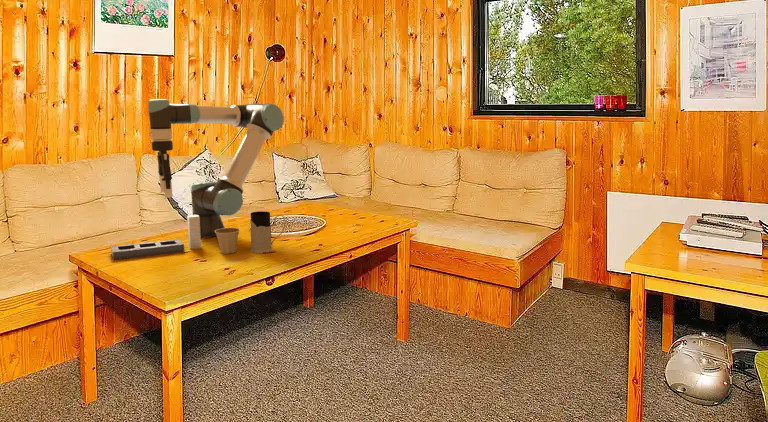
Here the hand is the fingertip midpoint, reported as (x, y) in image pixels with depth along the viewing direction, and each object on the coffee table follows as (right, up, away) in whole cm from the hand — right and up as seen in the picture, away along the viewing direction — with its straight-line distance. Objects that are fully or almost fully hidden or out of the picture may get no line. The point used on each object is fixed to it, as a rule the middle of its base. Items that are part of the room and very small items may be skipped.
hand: (166, 194), depth 215 cm
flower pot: (+24, -23, 0) cm, 33 cm away
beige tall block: (+9, -21, +6) cm, 24 cm away
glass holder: (+39, -22, +4) cm, 45 cm away
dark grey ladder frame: (-6, -23, -2) cm, 24 cm away
